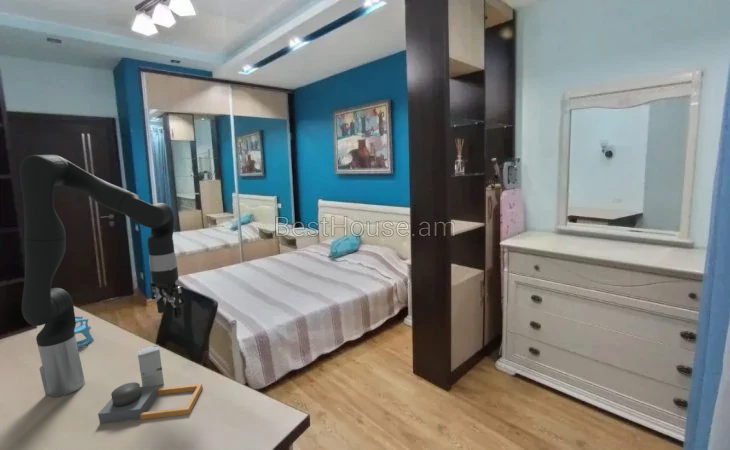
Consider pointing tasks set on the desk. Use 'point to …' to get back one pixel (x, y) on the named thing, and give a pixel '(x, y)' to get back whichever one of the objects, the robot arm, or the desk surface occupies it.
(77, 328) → the chair
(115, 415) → the dome slab with frame
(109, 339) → the desk surface
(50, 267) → the robot arm
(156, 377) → the skincare box
